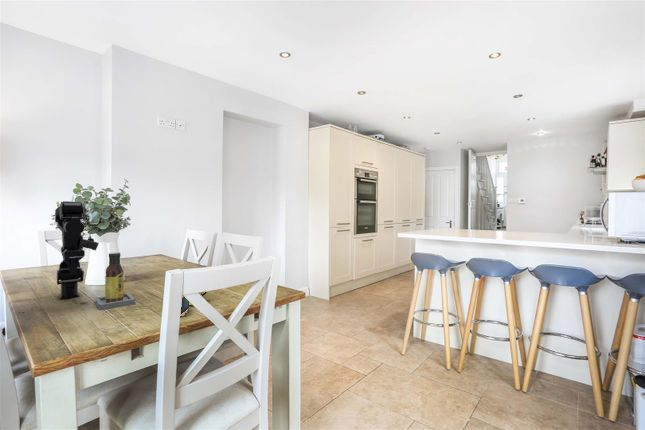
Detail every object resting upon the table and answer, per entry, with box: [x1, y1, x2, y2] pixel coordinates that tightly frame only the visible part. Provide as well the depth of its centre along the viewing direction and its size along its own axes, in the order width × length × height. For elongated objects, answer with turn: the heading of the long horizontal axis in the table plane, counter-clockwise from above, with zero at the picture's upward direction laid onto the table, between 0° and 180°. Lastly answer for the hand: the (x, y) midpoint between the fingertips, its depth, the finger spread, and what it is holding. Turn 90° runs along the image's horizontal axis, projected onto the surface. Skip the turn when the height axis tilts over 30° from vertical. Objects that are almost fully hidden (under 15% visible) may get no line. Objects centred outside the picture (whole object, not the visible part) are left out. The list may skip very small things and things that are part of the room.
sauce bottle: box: [104, 252, 125, 303], centre depth 129 cm, size 7×6×20 cm
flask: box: [181, 297, 190, 314], centre depth 119 cm, size 9×3×11 cm, turn 8°
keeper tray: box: [94, 292, 136, 311], centre depth 129 cm, size 12×12×2 cm
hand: (72, 272), depth 126 cm, fingers open, 9 cm apart
